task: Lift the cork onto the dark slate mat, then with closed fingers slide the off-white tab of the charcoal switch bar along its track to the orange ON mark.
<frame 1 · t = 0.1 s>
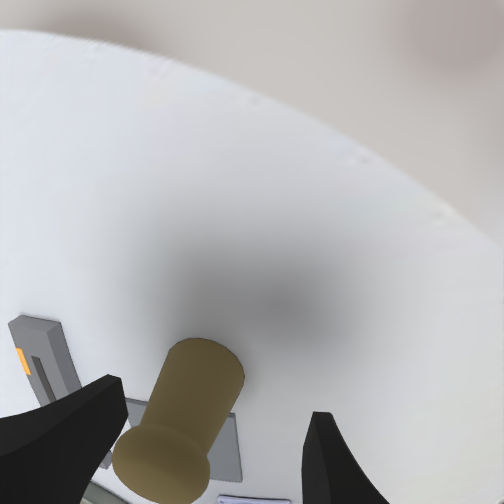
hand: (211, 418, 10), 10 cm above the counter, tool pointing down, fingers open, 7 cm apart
switch bar: (66, 396, 25), on the counter
slate mat: (185, 444, 24), on the counter
cork: (204, 371, 22), on the counter
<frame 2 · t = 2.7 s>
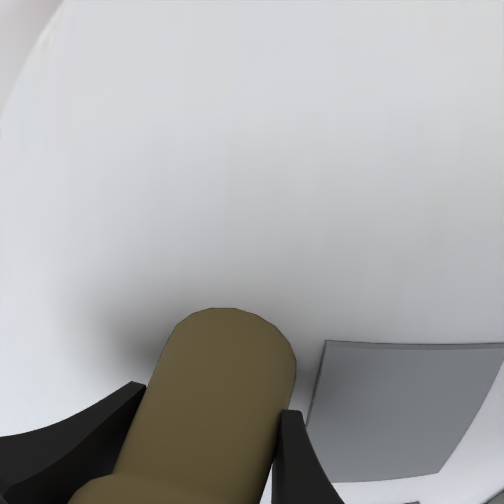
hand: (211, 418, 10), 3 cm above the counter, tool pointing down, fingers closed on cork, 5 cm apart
slate mat: (398, 423, 13), on the counter
cork: (229, 365, 13), on the counter, touching gripper
when the fingers open (5 cm above the counter, at t = 6.2 s): cork stays where it is, resting on slate mat.
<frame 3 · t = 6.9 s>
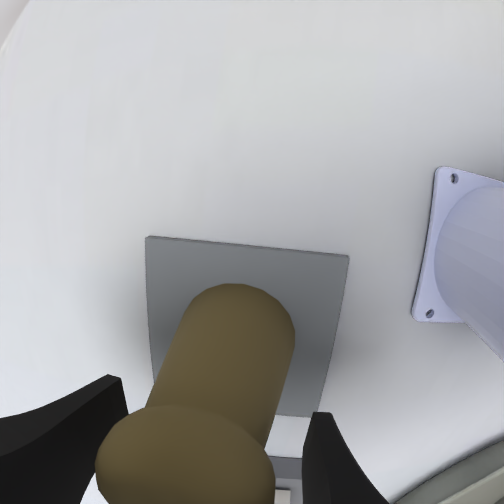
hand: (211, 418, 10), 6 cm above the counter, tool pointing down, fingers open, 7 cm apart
switch bar: (193, 465, 20), on the counter
slate mat: (238, 336, 16), on the counter
cork: (237, 335, 16), resting on slate mat
cake pan: (462, 495, 19), on the counter
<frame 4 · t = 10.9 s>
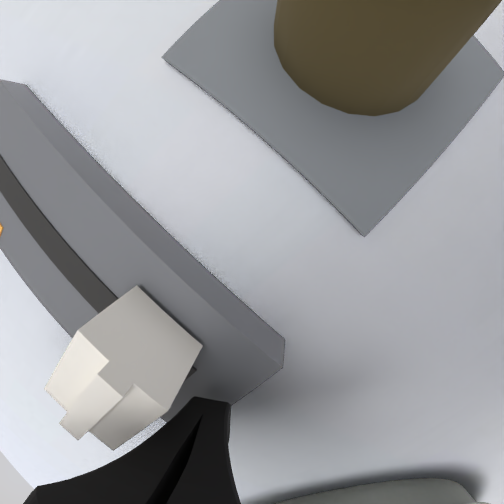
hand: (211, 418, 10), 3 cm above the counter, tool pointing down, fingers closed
switch bar: (87, 240, 12), on the counter
slate mat: (351, 48, 9), on the counter
cork: (356, 42, 9), resting on slate mat
switch tab: (117, 375, 8), point 4 cm above the counter, slide at 1.1 cm, touching gripper
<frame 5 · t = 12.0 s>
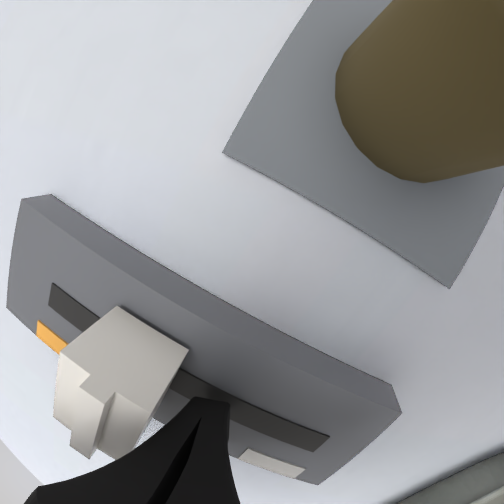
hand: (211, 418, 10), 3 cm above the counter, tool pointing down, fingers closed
switch bar: (184, 348, 13), on the counter
slate mat: (408, 107, 9), on the counter
cork: (413, 101, 9), resting on slate mat
switch tab: (113, 391, 9), point 4 cm above the counter, slide at 7.2 cm, touching gripper
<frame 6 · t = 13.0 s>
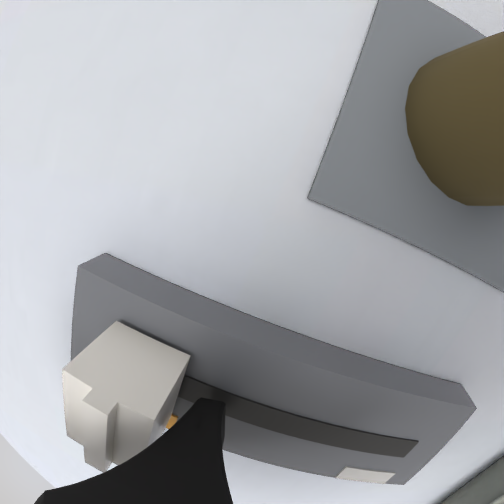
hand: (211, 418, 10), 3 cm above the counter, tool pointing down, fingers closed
switch bar: (275, 388, 13), on the counter
slate mat: (465, 134, 9), on the counter
cork: (470, 128, 9), resting on slate mat
switch tab: (121, 404, 9), point 4 cm above the counter, slide at 11.3 cm, touching gripper
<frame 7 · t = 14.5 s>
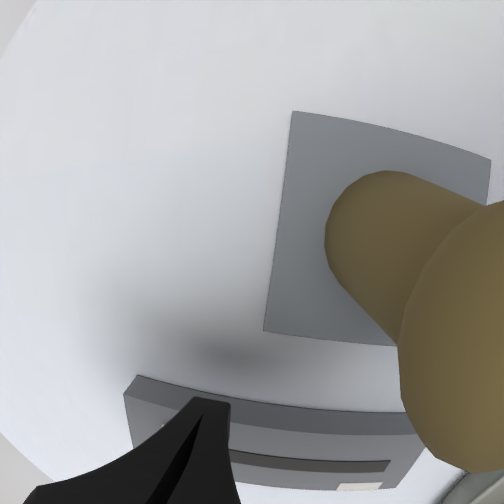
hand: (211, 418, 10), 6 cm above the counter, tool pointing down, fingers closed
switch bar: (277, 438, 17), on the counter
slate mat: (386, 241, 13), on the counter
cork: (389, 238, 13), resting on slate mat
switch tab: (179, 474, 13), point 4 cm above the counter, slide at 11.1 cm
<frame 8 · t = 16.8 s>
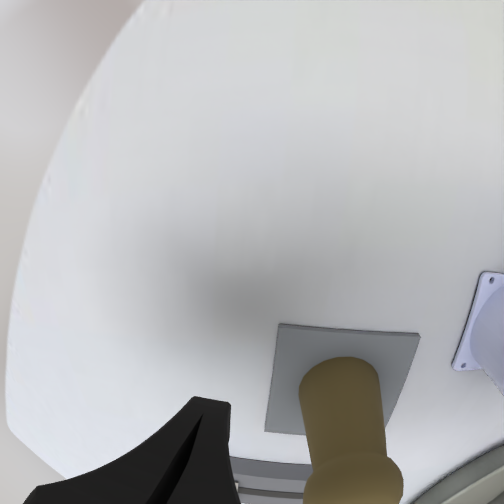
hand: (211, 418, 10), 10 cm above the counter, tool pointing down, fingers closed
switch bar: (277, 478, 24), on the counter
slate mat: (338, 388, 21), on the counter
cork: (339, 388, 20), resting on slate mat
cake pan: (472, 488, 24), on the counter
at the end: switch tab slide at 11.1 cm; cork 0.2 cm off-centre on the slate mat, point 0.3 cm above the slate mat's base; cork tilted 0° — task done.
